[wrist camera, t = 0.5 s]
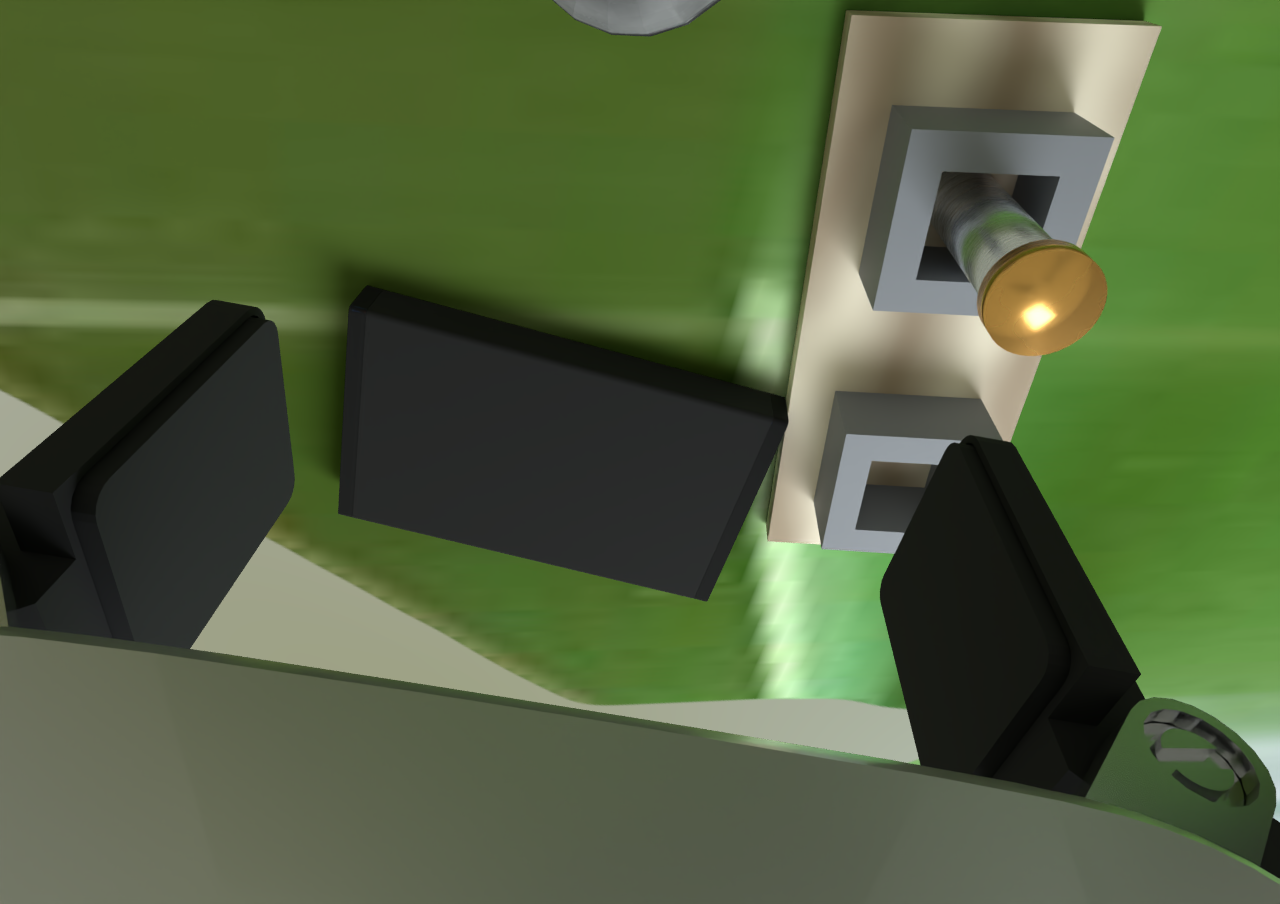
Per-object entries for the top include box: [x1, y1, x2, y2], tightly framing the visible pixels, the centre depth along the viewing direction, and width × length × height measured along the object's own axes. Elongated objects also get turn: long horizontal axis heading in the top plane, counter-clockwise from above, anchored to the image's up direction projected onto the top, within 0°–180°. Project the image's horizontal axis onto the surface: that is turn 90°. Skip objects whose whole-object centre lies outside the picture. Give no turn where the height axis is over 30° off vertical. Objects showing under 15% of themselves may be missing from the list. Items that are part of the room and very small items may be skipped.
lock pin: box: [930, 171, 1107, 356], centre depth 31 cm, size 4×4×11 cm
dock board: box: [766, 10, 1162, 544], centre depth 40 cm, size 12×28×2 cm, turn 179°
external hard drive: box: [338, 285, 789, 601], centre depth 46 cm, size 14×23×3 cm, turn 75°
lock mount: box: [859, 105, 1114, 316], centre depth 34 cm, size 8×8×4 cm
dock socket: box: [813, 391, 1003, 554], centre depth 42 cm, size 8×8×4 cm
